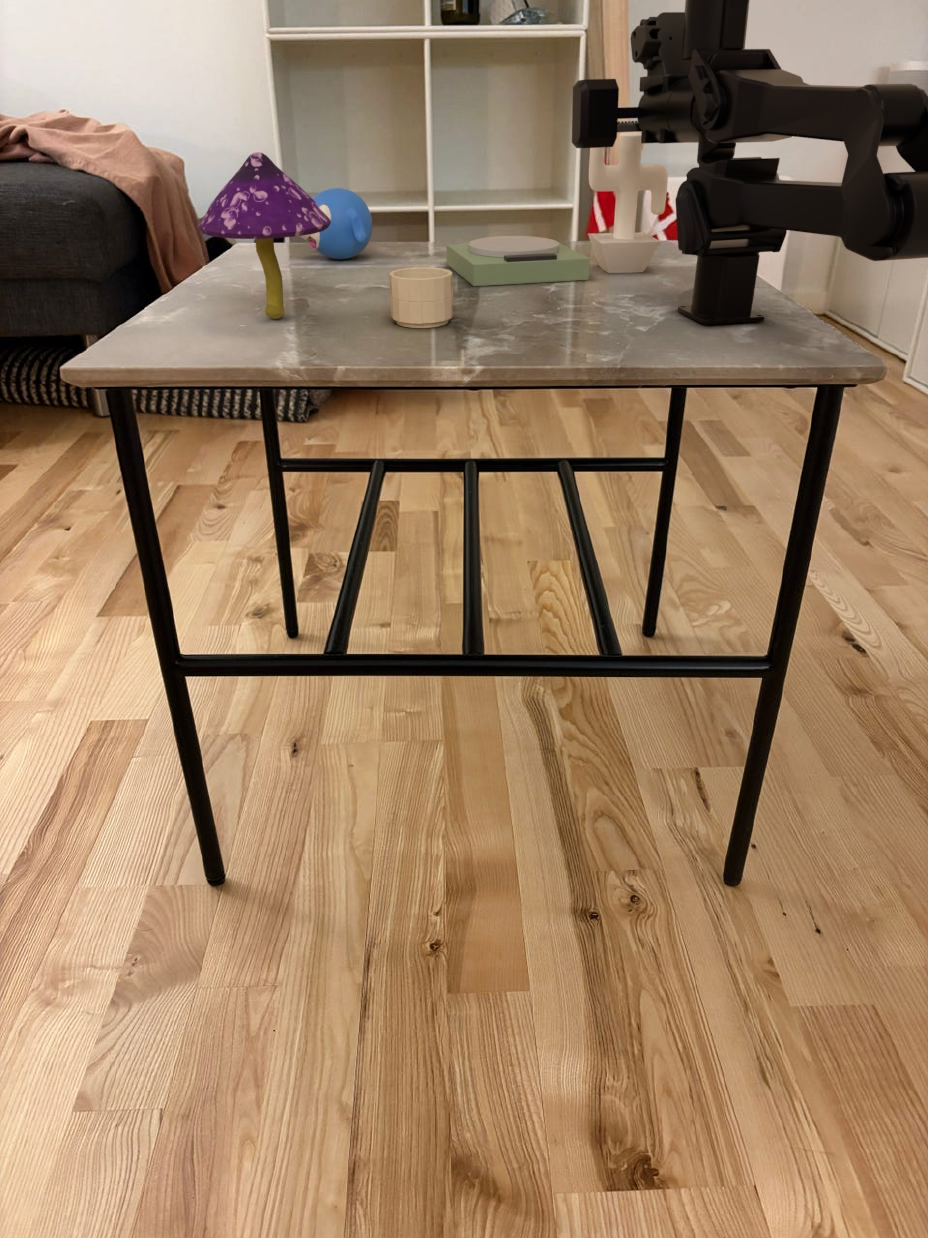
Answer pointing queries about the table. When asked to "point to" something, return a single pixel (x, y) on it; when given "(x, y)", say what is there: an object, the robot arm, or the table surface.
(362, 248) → the blue mole toy
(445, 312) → the beige wooden cup
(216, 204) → the decorative mushroom
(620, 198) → the figurine
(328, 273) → the table surface
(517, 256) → the scale
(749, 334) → the table surface
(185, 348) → the table surface
